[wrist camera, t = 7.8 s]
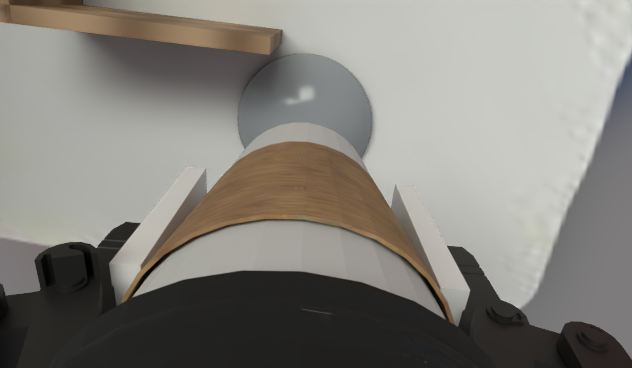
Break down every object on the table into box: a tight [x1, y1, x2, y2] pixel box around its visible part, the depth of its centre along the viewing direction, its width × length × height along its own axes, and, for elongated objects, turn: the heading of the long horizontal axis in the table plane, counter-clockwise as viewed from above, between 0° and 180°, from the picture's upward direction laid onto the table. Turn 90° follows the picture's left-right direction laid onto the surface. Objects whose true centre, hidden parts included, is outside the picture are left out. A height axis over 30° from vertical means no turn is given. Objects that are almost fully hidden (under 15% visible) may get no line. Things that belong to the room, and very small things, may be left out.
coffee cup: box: [48, 122, 497, 368], centre depth 12 cm, size 8×8×15 cm
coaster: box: [238, 54, 372, 158], centre depth 34 cm, size 11×11×1 cm
